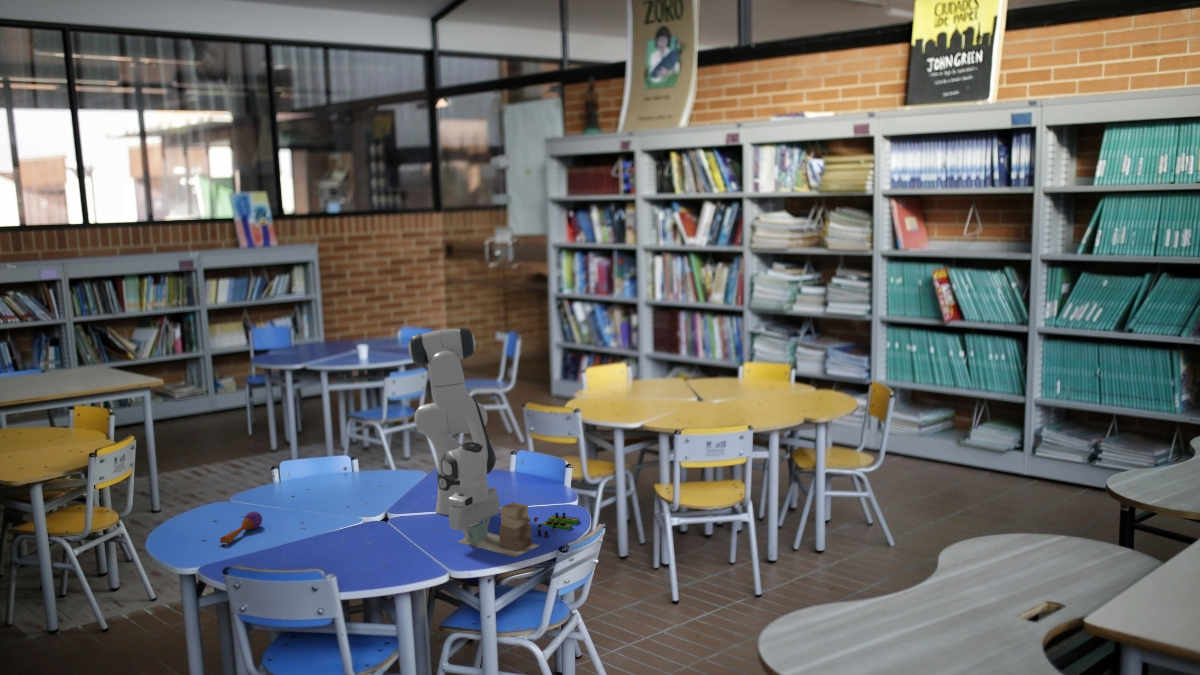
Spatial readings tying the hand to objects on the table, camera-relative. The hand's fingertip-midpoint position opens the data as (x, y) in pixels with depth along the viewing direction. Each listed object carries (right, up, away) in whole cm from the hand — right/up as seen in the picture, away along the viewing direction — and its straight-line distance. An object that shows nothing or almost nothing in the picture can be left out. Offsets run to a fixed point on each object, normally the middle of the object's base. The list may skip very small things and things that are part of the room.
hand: (476, 535), depth 314 cm
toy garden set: (+20, -1, +12) cm, 23 cm away
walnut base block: (+13, -2, -7) cm, 15 cm away
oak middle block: (+13, +5, -8) cm, 16 cm away
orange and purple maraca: (-81, -4, +16) cm, 83 cm away
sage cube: (0, -1, 0) cm, 1 cm away
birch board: (+8, -3, -4) cm, 9 cm away
